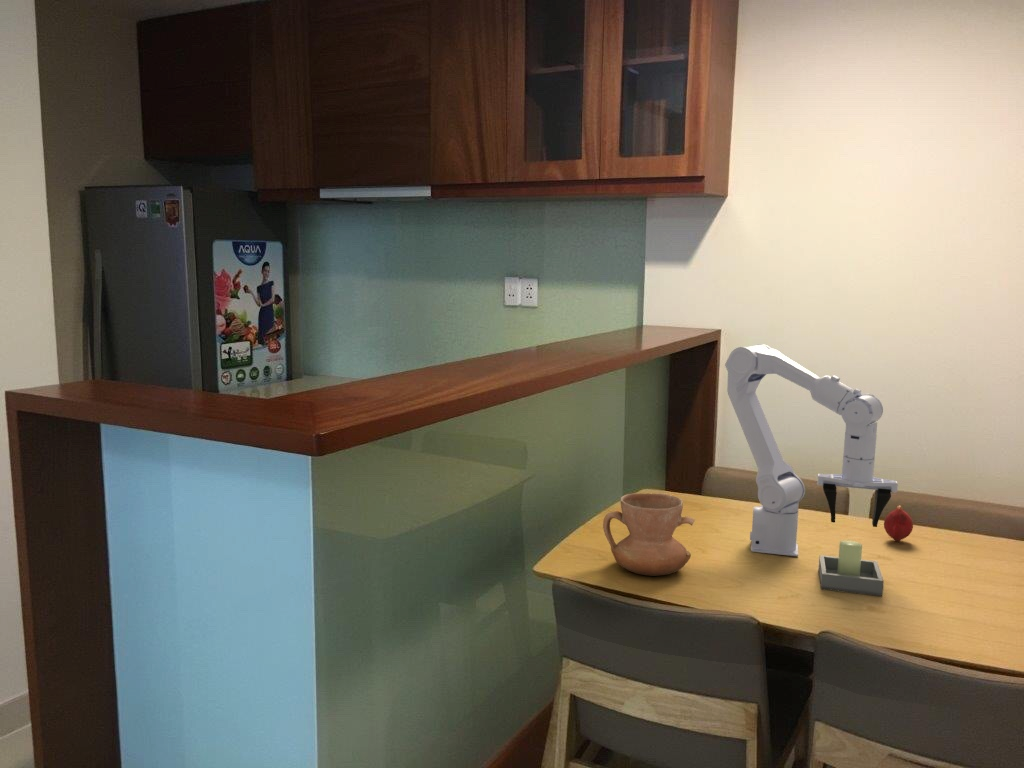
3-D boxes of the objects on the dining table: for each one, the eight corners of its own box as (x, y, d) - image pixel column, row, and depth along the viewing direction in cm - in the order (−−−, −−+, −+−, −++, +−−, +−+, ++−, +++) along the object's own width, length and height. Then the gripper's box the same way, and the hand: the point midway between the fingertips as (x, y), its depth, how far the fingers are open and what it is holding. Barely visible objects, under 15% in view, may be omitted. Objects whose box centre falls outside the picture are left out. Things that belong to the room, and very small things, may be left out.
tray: (821, 589, 157) (822, 573, 157) (818, 569, 167) (819, 555, 167) (882, 596, 154) (883, 580, 154) (876, 575, 164) (877, 561, 164)
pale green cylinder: (837, 581, 159) (840, 546, 158) (836, 574, 163) (838, 539, 162) (860, 584, 158) (863, 548, 157) (858, 576, 162) (861, 541, 161)
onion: (914, 546, 181) (917, 510, 180) (886, 544, 182) (889, 509, 181) (907, 537, 187) (910, 503, 185) (880, 535, 188) (882, 501, 187)
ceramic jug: (698, 561, 171) (699, 493, 169) (688, 586, 157) (690, 513, 155) (611, 552, 177) (612, 486, 175) (594, 575, 163) (595, 504, 161)
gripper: (820, 457, 163) (815, 525, 165) (901, 464, 158) (895, 533, 161) (819, 450, 170) (814, 514, 172) (897, 456, 165) (891, 522, 167)
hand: (853, 523), depth 167 cm, fingers open, 7 cm apart
